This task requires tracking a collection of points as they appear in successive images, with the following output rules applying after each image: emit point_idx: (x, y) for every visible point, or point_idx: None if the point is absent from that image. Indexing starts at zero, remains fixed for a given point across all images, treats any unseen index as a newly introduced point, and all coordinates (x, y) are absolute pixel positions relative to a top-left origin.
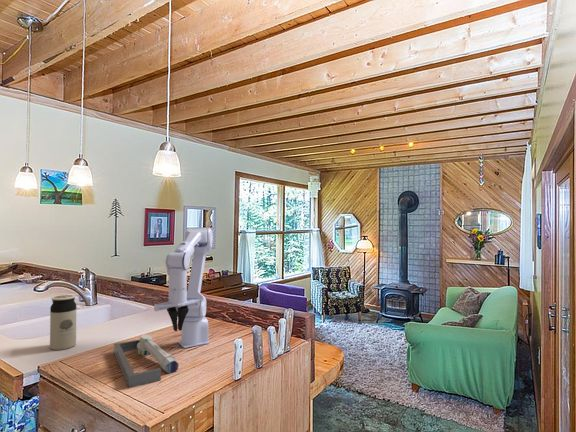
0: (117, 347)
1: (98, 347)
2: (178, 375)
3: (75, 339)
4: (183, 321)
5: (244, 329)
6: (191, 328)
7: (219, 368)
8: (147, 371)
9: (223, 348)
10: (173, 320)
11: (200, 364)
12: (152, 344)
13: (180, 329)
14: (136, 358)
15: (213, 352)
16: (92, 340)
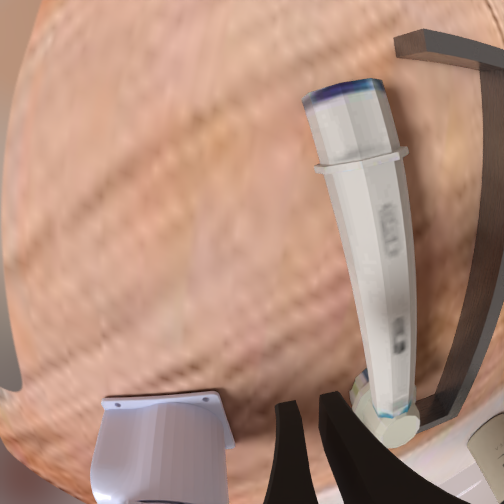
0: (467, 388)
1: (449, 427)
2: (305, 42)
3: (478, 444)
4: (274, 474)
5: (6, 438)
6: (177, 470)
7: (68, 53)
8: (473, 53)
9: (34, 323)
10: (406, 465)
11: (154, 145)
12: (406, 363)
13: (290, 407)
14: (419, 340)
15: (74, 296)
16: (435, 459)
